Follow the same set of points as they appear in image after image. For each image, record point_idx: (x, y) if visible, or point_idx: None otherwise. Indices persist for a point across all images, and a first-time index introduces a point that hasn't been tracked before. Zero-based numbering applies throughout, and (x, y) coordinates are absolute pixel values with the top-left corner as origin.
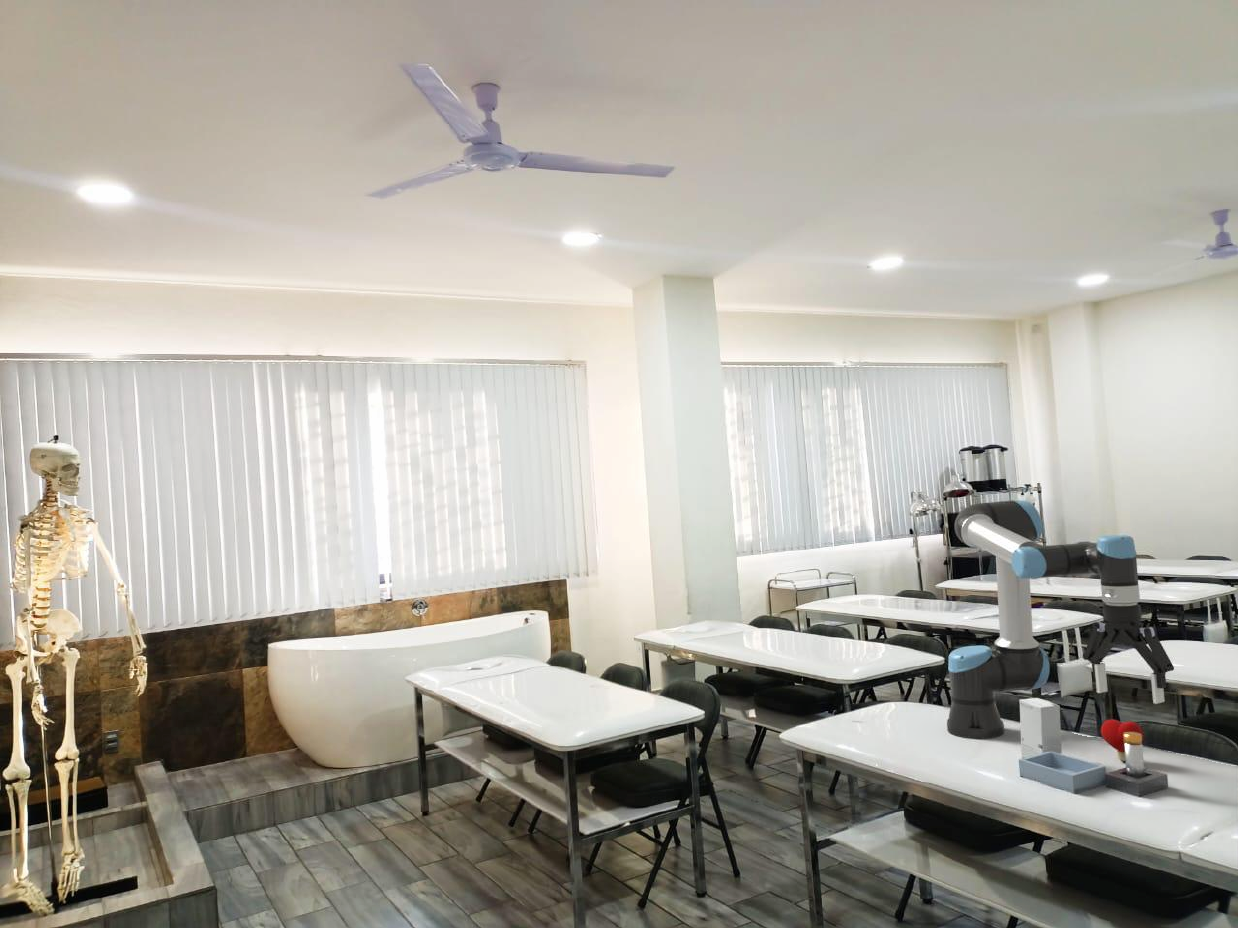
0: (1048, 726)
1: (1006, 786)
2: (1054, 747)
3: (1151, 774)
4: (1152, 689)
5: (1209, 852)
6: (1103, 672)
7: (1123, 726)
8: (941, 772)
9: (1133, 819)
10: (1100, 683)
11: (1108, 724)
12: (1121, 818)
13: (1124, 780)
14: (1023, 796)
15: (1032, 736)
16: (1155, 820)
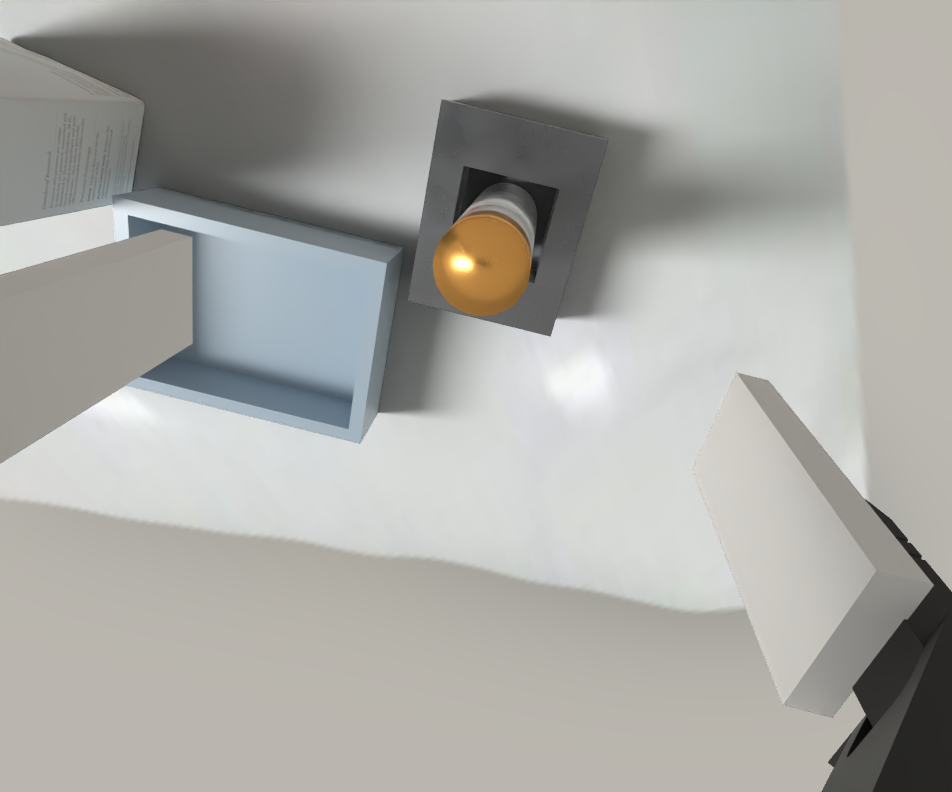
0: (2, 185)
1: (206, 467)
2: (91, 145)
3: (552, 186)
4: (726, 549)
5: None
6: (44, 332)
7: None
8: (4, 465)
9: (603, 511)
10: (137, 356)
11: None
12: (574, 521)
13: (493, 320)
14: (292, 512)
15: None
16: (658, 486)
